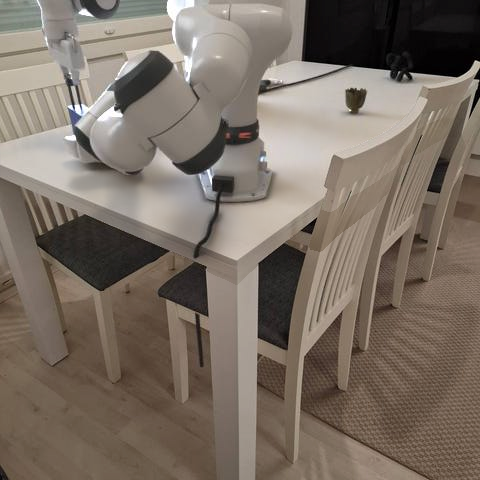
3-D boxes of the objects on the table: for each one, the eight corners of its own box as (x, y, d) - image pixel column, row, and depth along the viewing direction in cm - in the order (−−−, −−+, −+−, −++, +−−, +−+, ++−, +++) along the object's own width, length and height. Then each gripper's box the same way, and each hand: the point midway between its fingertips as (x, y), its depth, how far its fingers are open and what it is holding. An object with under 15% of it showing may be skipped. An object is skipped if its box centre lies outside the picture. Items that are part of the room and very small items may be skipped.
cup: (340, 114, 157) (342, 91, 153) (346, 109, 163) (348, 86, 159) (361, 116, 154) (364, 93, 150) (366, 111, 160) (369, 88, 156)
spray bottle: (231, 92, 187) (266, 82, 203) (251, 96, 181) (286, 85, 197) (231, 84, 185) (266, 75, 201) (251, 88, 179) (286, 78, 195)
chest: (74, 139, 140) (68, 109, 135) (89, 136, 143) (83, 106, 138) (91, 152, 130) (84, 121, 125) (106, 149, 132) (100, 118, 127)
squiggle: (400, 92, 202) (376, 71, 205) (417, 76, 202) (392, 56, 205) (405, 81, 191) (380, 59, 194) (423, 64, 191) (397, 42, 194)
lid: (67, 109, 136) (60, 78, 131) (82, 106, 138) (76, 75, 133) (84, 120, 125) (77, 87, 120) (100, 117, 127) (94, 84, 122)
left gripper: (85, 33, 118) (95, 87, 125) (61, 26, 132) (71, 75, 139) (61, 35, 115) (72, 90, 122) (39, 28, 129) (51, 77, 136)
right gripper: (145, 125, 123) (124, 114, 133) (71, 141, 114) (55, 128, 123) (147, 147, 127) (128, 135, 136) (76, 164, 117) (60, 149, 126)
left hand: (72, 82), depth 131 cm, fingers open, 6 cm apart
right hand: (93, 131), depth 130 cm, fingers closed on chest, 5 cm apart
